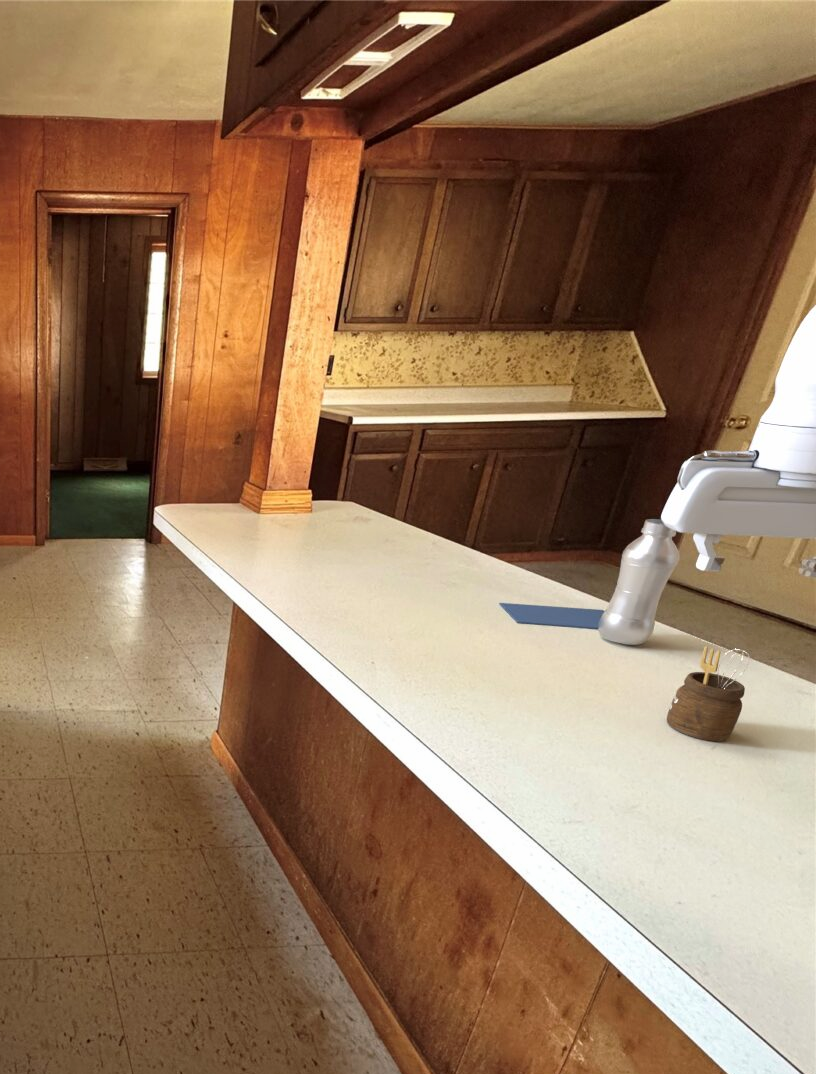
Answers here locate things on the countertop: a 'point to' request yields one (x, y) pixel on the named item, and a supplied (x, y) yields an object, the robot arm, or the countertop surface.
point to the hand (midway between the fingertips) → (758, 572)
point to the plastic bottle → (640, 585)
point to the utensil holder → (707, 702)
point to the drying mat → (554, 615)
